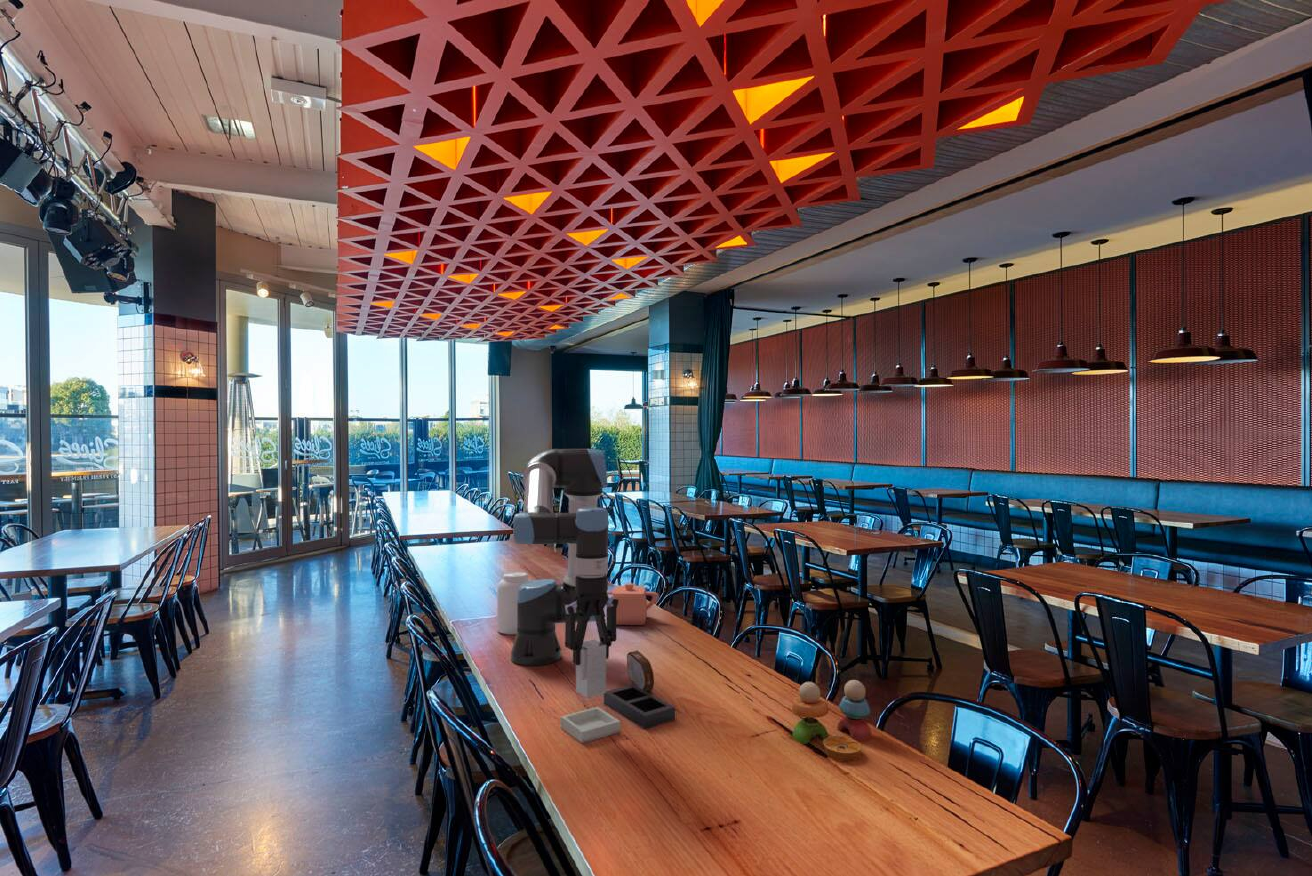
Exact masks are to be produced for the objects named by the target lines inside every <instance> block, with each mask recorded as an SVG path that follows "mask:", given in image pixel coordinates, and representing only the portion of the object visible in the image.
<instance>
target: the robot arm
mask: <svg viewBox="0 0 1312 876" xmlns="http://www.w3.org/2000/svg"><path fill="white" fill-rule="evenodd" d="M522 483H523V486H524V488H525V489H524V499H523V500H524V501H523V511H522V512H518V513H515V514H514V517H513V524H512V525H513V526H512V527H513V542H514V543H515V544H518V545H528V546H532V545H556V544H557V545H559V544H561V545H562V544H565V545H566V544H567V545H568V551H567V554H568V557H567V561H568V563H567V565H568V567H567V570H568V571H567V574H566V575H565V576H564V577H563V579H562V584H557V582H556V580H555V579H553V578H543V579H542V578H541V579H535V580H531V581H530V582H527V583H525V584H523V585H521V586H520V587H519V589H518V597H517V603H518V605H517V634H515V639H514V642H513V644H512V647H511V650H510V661H512V662H513V663H515V664H518V665H522V666H543V665H549V664H551V663H552V664H553V663H555V662H557V661H558V660H560V659H561V658H562V649H561V645H560V641H559V640H558V636H557V632H556V624H565V626H564V627H565V629H564V630H565V631H564V633H565V634H564V636H565V638H564V647H565V648H567V649H568V650H571V651H572V663H573V665H575V678H578V679H580V680H584V677H585V651H584V650H582V645H583V642H585V641H584V640H585V636H586V632H587V628H588V623H591V622H595V625H596V629H597V633H598V638H599V642H601V643H603V644H605V645H606V660H609V657H610V654H609V653H610V652H609V650H610V647H612V643H613V642H614V643H615V642H616V641H617V625H616V609H617V605H618V600H617V599H614V598H612V596H611V597H610V596H609V595H607V591H609V590H608V589H609V577H608V575H607V574H608V570H609V564H608V563H609V548H608V547H609V526H610V525H609V524H610V521H609V511H608V510H607V508H602V507H598V499H599V497H601V496H602V495H603V489H606V488H607V487H608V473H607V464H606V459H605V454H604V452H603V451H602V450H600V449H594V448H593V449H592V448H551V449H547V450H544V451H542V452H540V453H537V454H536V455H535V456H533V457H532V458H531V459H530V460H528V462H527V463H526V464H525V467H524V469H523V472H522ZM553 488H558V489H559V488H561V489H562V488H563V493H564V495H565V496H566V497H567V498H568V512H554V507H553V501H554V500H553V497H554V495H553V493H554V492H553V490H554V489H553ZM606 605H607V606H606ZM605 607H606V614H605Z"/></svg>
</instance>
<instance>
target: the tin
mask: <svg viewBox="0 0 1312 876" xmlns="http://www.w3.org/2000/svg"><path fill="white" fill-rule="evenodd" d="M626 664H627V666H626V667H627V668H626V669H627V674H628V676H629V679H630V681H631V682H632V683H633V684H634V685H635V686H637V687H639V688H641V689H643V690H645V691H646V692H648V691H653V689H654V686H655V675H654V671H653V666H652V664H651V661H650V660H649V658H647V657H646V656H645V655H643V653H642V652H641V651H639V650H637V649H636V650H634V651H629V652H628V653H627V655H626Z"/></svg>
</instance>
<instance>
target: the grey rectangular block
mask: <svg viewBox="0 0 1312 876" xmlns="http://www.w3.org/2000/svg"><path fill="white" fill-rule="evenodd" d="M582 650H584V651H585V677H584V680H580V679H578V678H576V677H575V678H576V679H575V691H576V692H577V693H578V694H581V695H582V696H584V697H585V698H591V697H596V696H598V695H604V693H606V691H607V659H606V645H605V644H603V643H601V642H600V640H597V639H592V640H586V641H583V645H582Z"/></svg>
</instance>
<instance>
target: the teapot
mask: <svg viewBox="0 0 1312 876" xmlns="http://www.w3.org/2000/svg"><path fill="white" fill-rule="evenodd" d="M607 595H608V596H609V595H612V596H611V597H612V598H614V599H617V600H618V605H617V609H616V626H643V625H644V626H645V624H646V622H647V616H648V610H649V609H651V607H652V606H654V605H655V603H656V602H657V601H658V599H659V593H657V592H655V591H646V587H645V585H635V584H634V583H632V582H627V583H624V585H615V586H614V587H613V589H612V591H611V590H607ZM647 596H651V597H652V598H651V600H650V601H649V603H648V604H647ZM605 607H607V605H605Z"/></svg>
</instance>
